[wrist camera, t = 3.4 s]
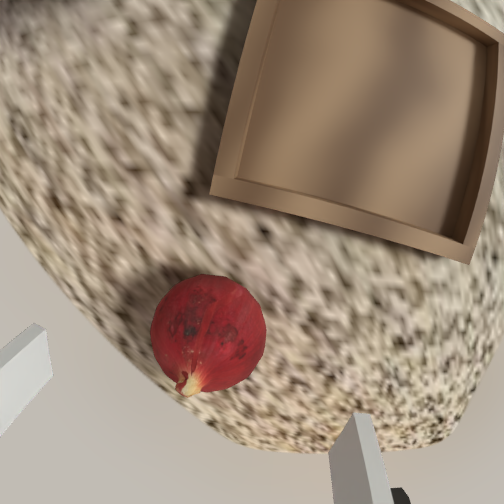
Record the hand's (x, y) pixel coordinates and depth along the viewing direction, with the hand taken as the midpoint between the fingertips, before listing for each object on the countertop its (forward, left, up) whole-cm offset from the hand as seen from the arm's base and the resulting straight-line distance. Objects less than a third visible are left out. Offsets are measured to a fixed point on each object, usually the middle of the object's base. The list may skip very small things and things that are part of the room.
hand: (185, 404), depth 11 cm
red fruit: (0, 0, -9) cm, 9 cm away
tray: (+6, +14, -9) cm, 18 cm away
